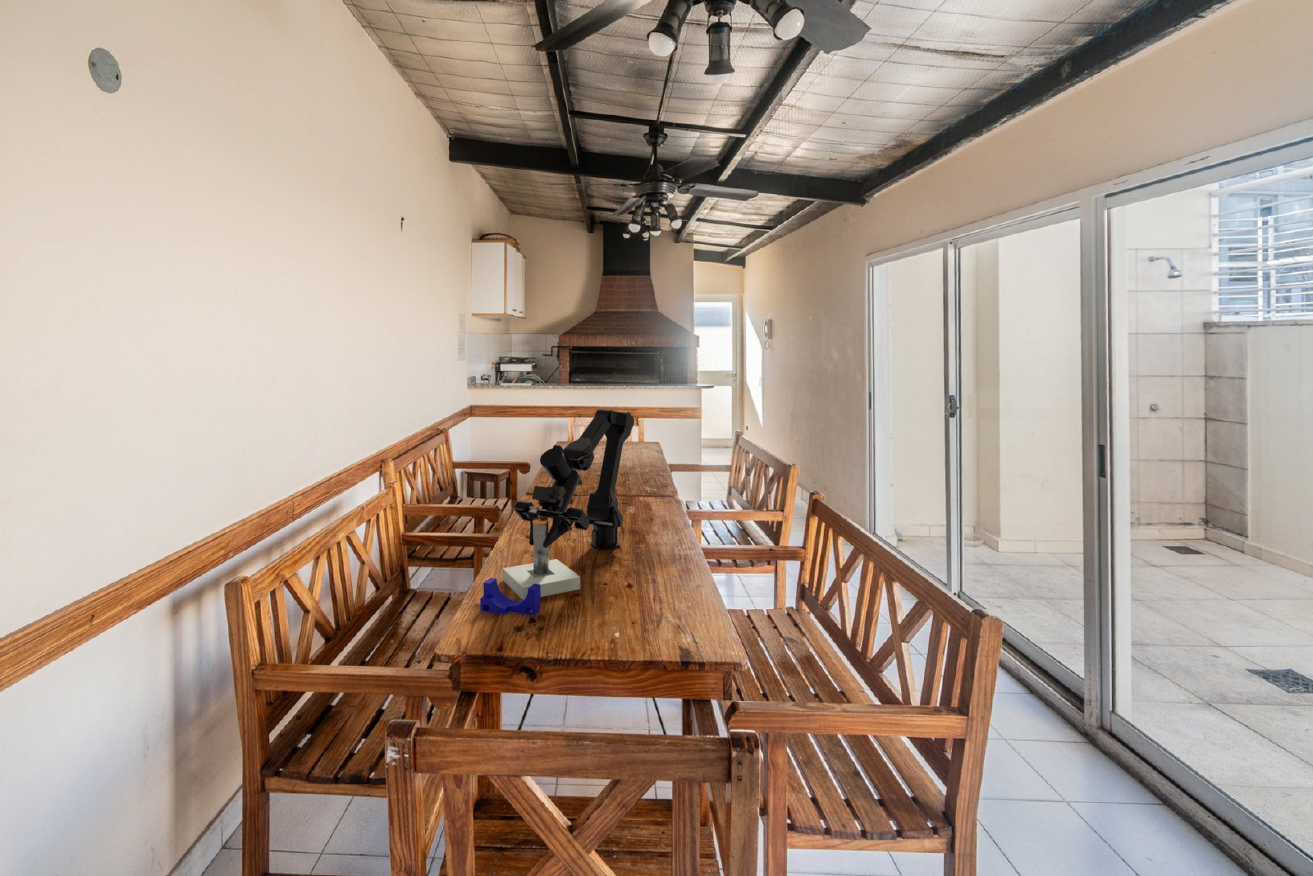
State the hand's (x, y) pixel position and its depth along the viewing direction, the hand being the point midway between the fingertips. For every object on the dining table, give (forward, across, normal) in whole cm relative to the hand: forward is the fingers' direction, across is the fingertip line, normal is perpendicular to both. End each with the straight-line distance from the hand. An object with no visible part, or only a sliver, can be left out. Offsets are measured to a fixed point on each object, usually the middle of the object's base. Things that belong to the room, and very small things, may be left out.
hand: (537, 546), depth 150 cm
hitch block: (+6, 0, +8) cm, 10 cm away
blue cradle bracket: (+17, +2, -3) cm, 18 cm away
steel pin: (+4, 0, +6) cm, 7 cm away
